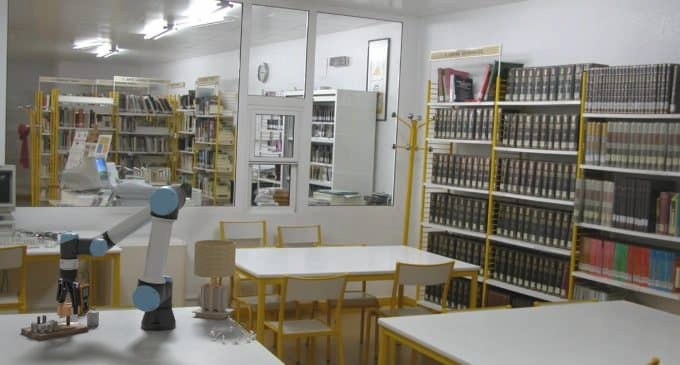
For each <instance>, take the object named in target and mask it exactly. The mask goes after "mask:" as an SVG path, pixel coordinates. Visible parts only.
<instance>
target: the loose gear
mask: <svg viewBox="0 0 680 365" xmlns="http://www.w3.org/2000/svg"><path fill="white" fill-rule="evenodd" d="M56 306H57V308H56V314H57V316H58V317H59V316H70V317H71V306H72V303H71V302H64V303H61V304H59V303H58V304H57V305H56ZM78 315H81V313H80V306H79V307H78Z"/></svg>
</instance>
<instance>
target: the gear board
mask: <svg viewBox="0 0 680 365" xmlns="http://www.w3.org/2000/svg"><path fill="white" fill-rule="evenodd" d="M41 316H42V317H41ZM41 316H40V315H37V317H36V318H37V319H36V321H32V322H31V323H30V326H27V327H22V328H21V330H20V334H23V335H25V336H28V337H31V338H33V339H36V340H38V341H46V340H51V339H54V338H56V339H57V338H59V337H66V336H70V335H76V334H77V335H78V334H82V333H86V332H87V333H88V332H90V331H89V329H90V328H89V327H90V326H87V325H84V324H82V323H79V322H71V316H66V317H65V319H66V320H63V321H62V320H61V321H57V320H55V319H50V320H49V319H47V315H46V314H44V315H41ZM41 318H42V320H41Z"/></svg>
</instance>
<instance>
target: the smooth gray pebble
mask: <svg viewBox="0 0 680 365" xmlns="http://www.w3.org/2000/svg"><path fill="white" fill-rule="evenodd" d="M86 314H87V315H86V316H87V317H86V326H88V327H98V326H99V325H100V324H99V322H100V319H99V318H100V311H98V310H95V311H93V310H89V311H86Z"/></svg>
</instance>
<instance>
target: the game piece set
mask: <svg viewBox="0 0 680 365" xmlns="http://www.w3.org/2000/svg"><path fill="white" fill-rule="evenodd" d="M233 329H234V328H233V326H231V325H230V327H229V333H232V332H233ZM209 333H210V334H211V337H212V339H211V341H213V342H215V341H217V337H218V336H219V335H221V334H222V331H219V332H218V333H217V334H215V333H216V332H215V330H210V331H209ZM249 333H250V334H249V337H247V338H246V343H251V339H253V340H255V338H257V335H258V334H257V333H254V330H249ZM241 334H246V333H245V330H244V329H242V331H241ZM240 338H241V337H240V336H238V337H237V338H236V339H234V338H233V339H232V340H233V341H232V343H233V344H238V343H239V342H240ZM238 339H239V340H238ZM226 343H227V341H226V340H225V335H224V334H223V335H222V340H221V341H220V344H226Z"/></svg>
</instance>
